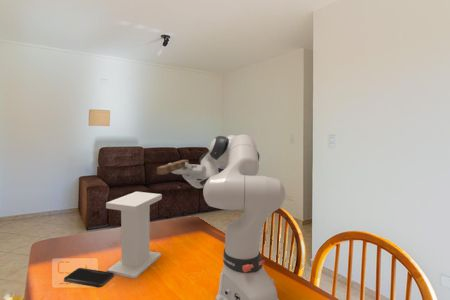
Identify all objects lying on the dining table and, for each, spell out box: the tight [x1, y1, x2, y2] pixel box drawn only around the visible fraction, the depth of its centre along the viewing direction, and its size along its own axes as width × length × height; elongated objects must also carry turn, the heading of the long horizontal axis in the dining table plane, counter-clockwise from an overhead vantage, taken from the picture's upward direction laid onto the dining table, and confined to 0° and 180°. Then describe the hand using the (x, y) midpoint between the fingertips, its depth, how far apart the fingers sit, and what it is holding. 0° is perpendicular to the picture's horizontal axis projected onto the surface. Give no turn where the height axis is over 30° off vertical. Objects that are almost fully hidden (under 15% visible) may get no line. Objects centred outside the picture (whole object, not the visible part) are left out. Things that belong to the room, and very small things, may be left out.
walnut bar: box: [156, 159, 190, 176], centre depth 126 cm, size 26×3×3 cm, turn 163°
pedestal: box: [105, 191, 163, 280], centre depth 104 cm, size 18×12×26 cm, turn 163°
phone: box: [63, 267, 115, 288], centre depth 95 cm, size 8×1×15 cm
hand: (181, 163), depth 133 cm, fingers closed on walnut bar, 3 cm apart
